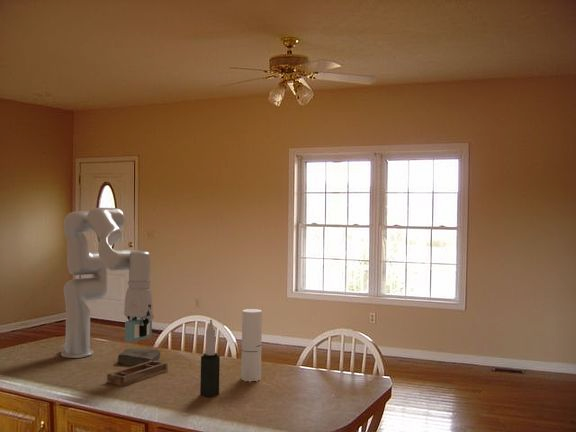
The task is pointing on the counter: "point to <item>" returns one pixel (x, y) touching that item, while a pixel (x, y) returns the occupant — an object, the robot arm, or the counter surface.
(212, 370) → the marker pen
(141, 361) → the marble piece
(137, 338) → the teal block
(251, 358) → the cylindrical container
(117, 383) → the wooden compartment tray
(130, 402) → the counter surface
